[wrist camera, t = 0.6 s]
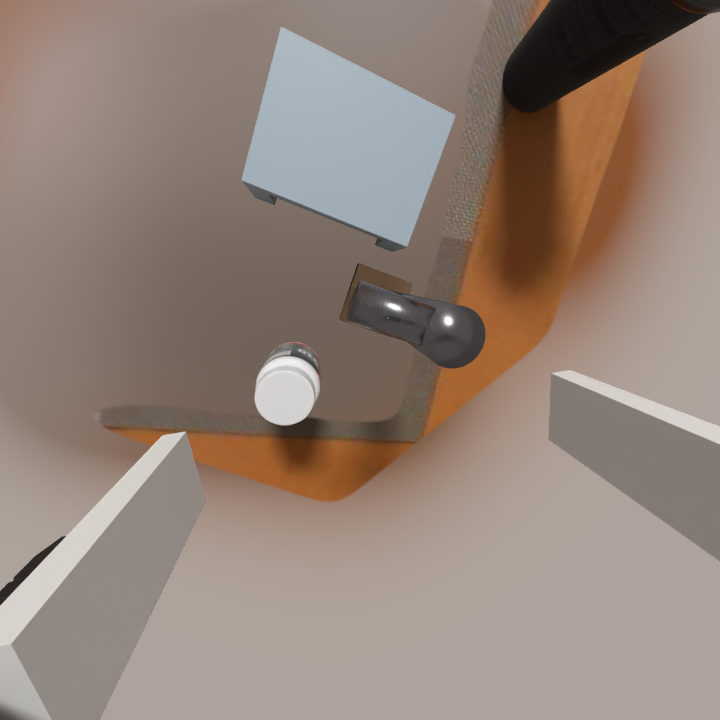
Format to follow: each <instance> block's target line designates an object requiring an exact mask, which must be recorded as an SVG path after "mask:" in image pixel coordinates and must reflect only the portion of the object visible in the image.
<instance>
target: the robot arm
mask: <svg viewBox="0 0 720 720" xmlns="http://www.w3.org/2000/svg"><path fill="white" fill-rule="evenodd" d="M549 440H550V441H552V442H553V443H554V444H556V445H557V446H558V447H560V448H561V449H563V450H564V451H565V452H567V453H568V454H570V455H571V456H572V457H574V458H575V459H577V460H578V461H579V462H581V463H582V464H584V465H585V466H586V467H588V468H589V469H591V470H592V471H594V472H595V473H596V474H598V475H599V476H601V477H602V478H603V479H605V480H606V481H608V482H609V483H611V484H612V485H613V486H615V487H616V488H617V489H619V490H620V491H622V492H623V493H625V494H626V495H627V496H629V497H630V498H631V499H633V500H634V501H636V502H637V503H639V504H640V505H641V506H643V507H644V508H646V509H647V510H648V511H650V512H651V513H653V514H654V515H655V516H657V517H658V518H660V519H661V520H663V521H664V522H665V523H667V524H668V525H670V526H671V527H672V528H674V529H675V530H676V531H678V532H679V533H681V534H682V535H684V536H685V537H687V538H688V539H689V540H691V541H692V542H693V543H695V544H696V545H698V546H699V547H700V548H702V549H703V550H705V551H706V552H707V553H709V554H710V555H712V556H713V557H715V558H716V559H717V560H719V561H720V427H719V426H717V425H714V424H711V423H708V422H706V421H703V420H700V419H698V418H695V417H693V416H690V415H687V414H685V413H682V412H679V411H677V410H674V409H672V408H669V407H666V406H664V405H661V404H658V403H656V402H653V401H650V400H648V399H645V398H642V397H640V396H637V395H634V394H632V393H629V392H627V391H624V390H621V389H619V388H616V387H613V386H611V385H608V384H605V383H602V382H600V381H597V380H595V379H592V378H589V377H587V376H584V375H582V374H579V373H576V372H573V371H571V370H568V371H562V372H556V373H551V389H550V416H549ZM205 502H206V500H205V497H204V493H203V490H202V486H201V483H200V479H199V475H198V472H197V468H196V465H195V461H194V458H193V454H192V451H191V447H190V443H189V440H188V436H187V433H186V432H181V433H175V434H168V435H162V436H161V437H160V438H159V440H158V441H157V442H156V443H155V444H154V445H153V446H152V447H151V448H150V449H149V450H148V451H147V452H146V453H145V454H144V455H143V456H142V457H141V458H140V459H139V461H138V462H137V463H136V464H135V465H134V466H133V467H132V468H131V469H130V470H129V471H128V472H127V473H126V474H125V475H124V476H123V477H122V479H120V480H119V482H118V483H117V484H116V485H115V486H114V487H113V488H112V489H111V490H110V491H109V492H108V493H107V494H106V495H105V496H104V497H103V498H102V499H101V500H100V501H99V502H98V504H97V505H96V506H95V507H94V508H93V509H92V510H91V511H90V512H89V513H88V514H87V515H86V516H85V517H84V518H83V519H82V520H81V521H80V522H79V524H78V525H77V526H76V527H75V528H74V529H73V530H72V531H71V532H70V533H69V534H68V535H67V536H64V537H61V538H60V539H58V540H57V541H55V542H54V543H53V544H51V545H50V546H49V547H47V548H46V549H44V550H43V551H42V552H40V553H39V554H37V555H36V556H35V557H34V558H33V559H32V560H31V561H30V562H29V563H28V564H27V565H26V566H25V567H24V568H23V569H22V570H21V571H20V572H19V573H18V574H17V575H16V576H15V577H14V580H13V582H9V583H8V584H7V585H6V586H5V587H4V588H3V589H2V590H1V591H0V720H100V718H101V716H102V714H103V712H104V710H105V708H106V706H107V704H108V702H109V699H110V697H111V696H112V694H113V691H114V689H115V687H116V685H117V683H118V680H119V679H120V677H121V675H122V673H123V671H124V669H125V667H126V665H127V662H128V661H129V658H130V656H131V654H132V652H133V650H134V648H135V646H136V644H137V642H138V640H139V638H140V636H141V633H142V632H143V630H144V627H145V625H146V623H147V621H148V619H149V617H150V615H151V613H152V611H153V609H154V607H155V605H156V603H157V601H158V599H159V597H160V595H161V592H162V590H163V588H164V586H165V584H166V582H167V580H168V578H169V576H170V574H171V572H172V570H173V568H174V566H175V564H176V561H177V560H178V558H179V555H180V553H181V551H182V549H183V547H184V545H185V543H186V541H187V539H188V537H189V535H190V533H191V531H192V529H193V526H194V525H195V522H196V520H197V518H198V516H199V514H200V512H201V510H202V508H203V506H204V504H205Z"/></svg>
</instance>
